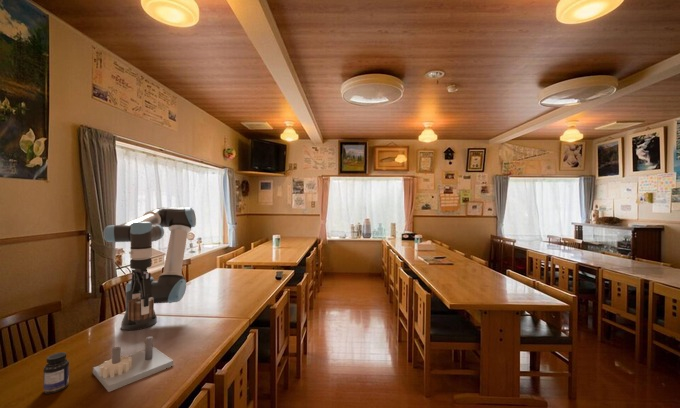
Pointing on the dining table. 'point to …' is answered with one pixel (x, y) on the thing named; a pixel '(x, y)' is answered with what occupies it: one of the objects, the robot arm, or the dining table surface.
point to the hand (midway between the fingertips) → (140, 311)
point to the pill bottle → (56, 373)
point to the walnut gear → (139, 309)
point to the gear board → (131, 366)
